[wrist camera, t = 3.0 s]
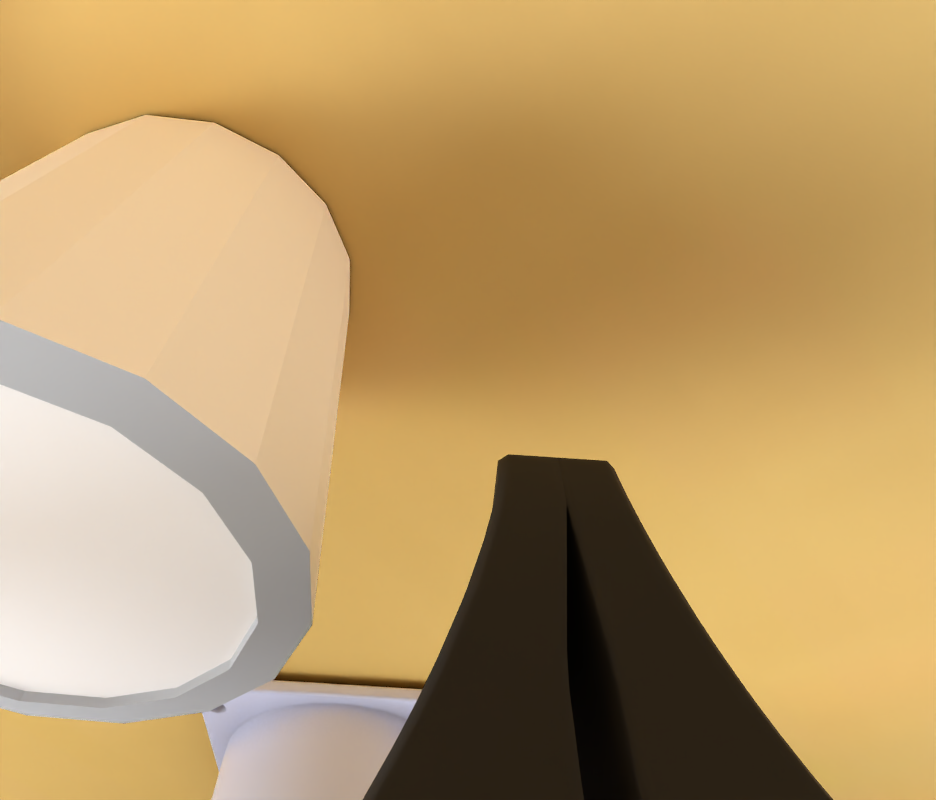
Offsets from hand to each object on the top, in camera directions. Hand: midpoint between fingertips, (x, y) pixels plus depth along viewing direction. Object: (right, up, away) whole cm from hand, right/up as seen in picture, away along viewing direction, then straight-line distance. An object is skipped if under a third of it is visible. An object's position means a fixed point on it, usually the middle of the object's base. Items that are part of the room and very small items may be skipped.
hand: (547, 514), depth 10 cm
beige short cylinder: (-6, +4, +4) cm, 8 cm away
